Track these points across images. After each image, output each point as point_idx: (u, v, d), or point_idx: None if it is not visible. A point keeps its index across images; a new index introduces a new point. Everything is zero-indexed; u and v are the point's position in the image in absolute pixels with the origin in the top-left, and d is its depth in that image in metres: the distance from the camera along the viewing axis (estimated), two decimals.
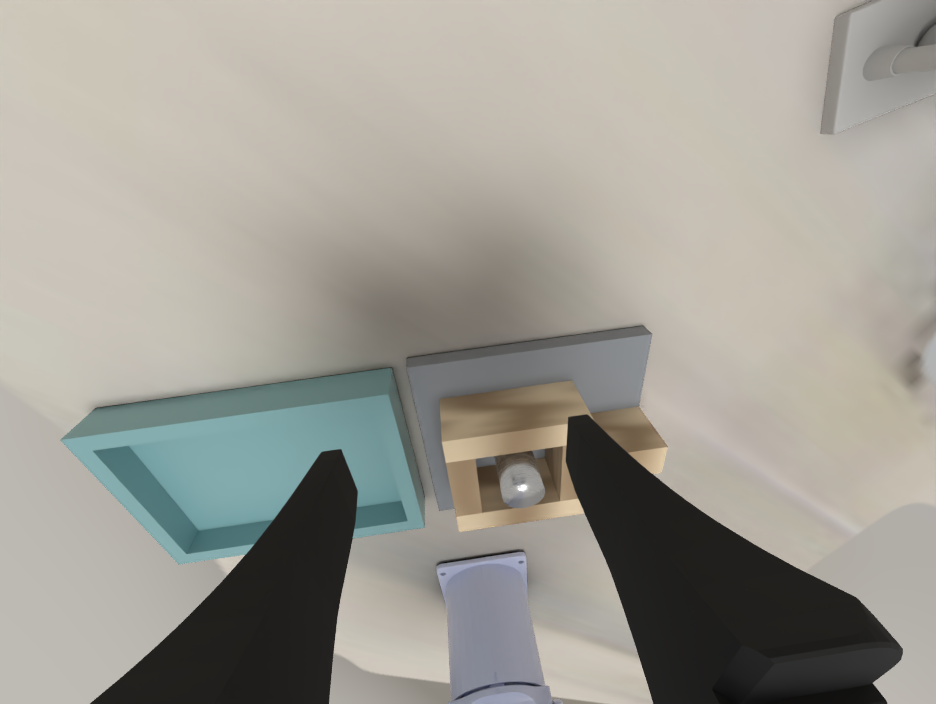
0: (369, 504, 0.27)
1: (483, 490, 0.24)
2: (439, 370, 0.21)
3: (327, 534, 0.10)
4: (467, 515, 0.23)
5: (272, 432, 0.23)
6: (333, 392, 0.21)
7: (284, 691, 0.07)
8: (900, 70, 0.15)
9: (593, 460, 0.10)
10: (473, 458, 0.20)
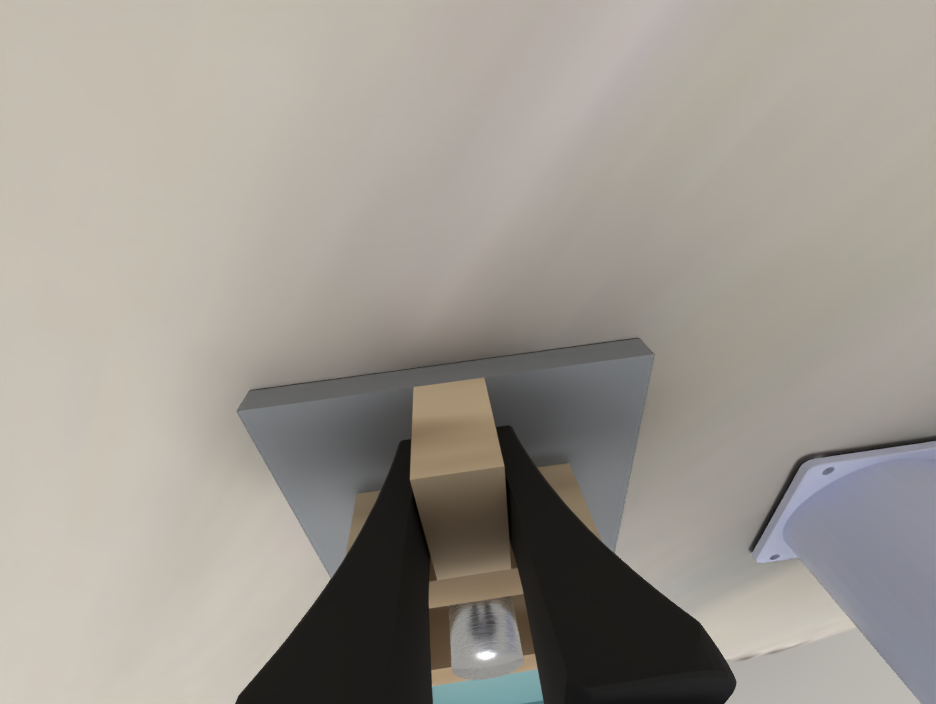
0: None
1: None
2: None
3: (420, 520, 0.10)
4: None
5: None
6: None
7: (413, 670, 0.07)
8: None
9: None
10: None
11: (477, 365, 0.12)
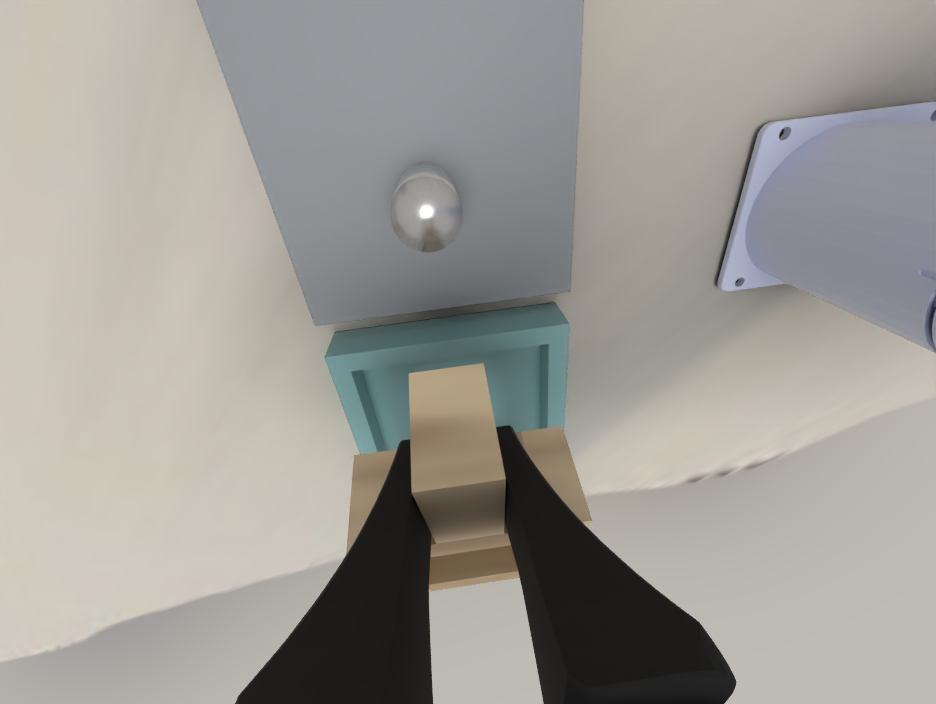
0: (537, 370, 0.22)
1: None
2: (313, 292, 0.18)
3: (420, 520, 0.10)
4: None
5: None
6: None
7: (413, 670, 0.07)
8: None
9: None
10: None
11: None
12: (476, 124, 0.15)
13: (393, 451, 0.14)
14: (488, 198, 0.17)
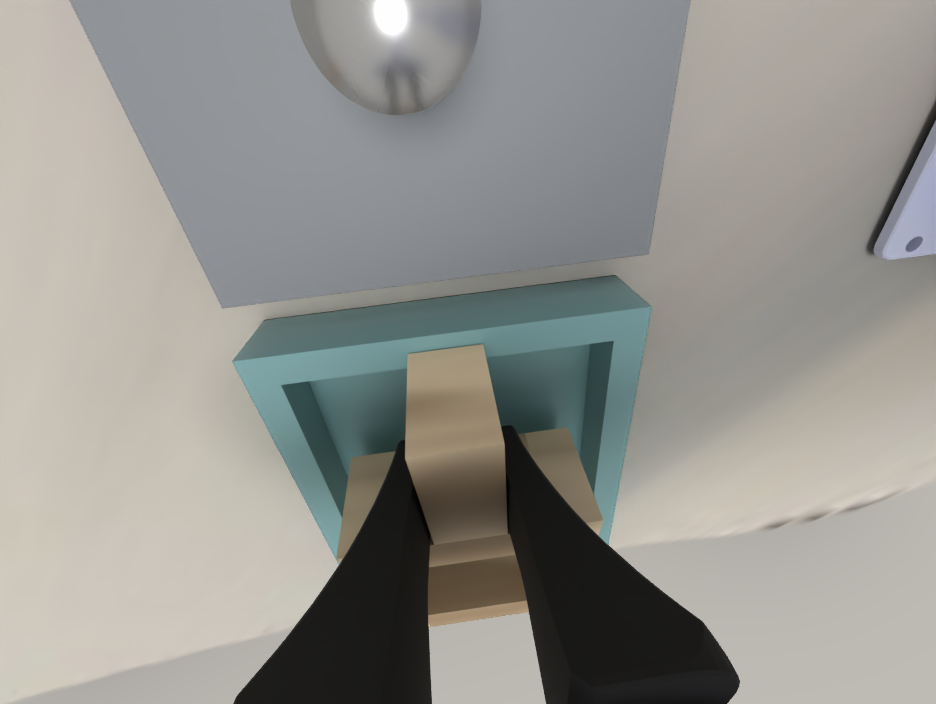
0: (583, 381, 0.14)
1: None
2: (210, 247, 0.10)
3: (419, 521, 0.10)
4: None
5: None
6: None
7: (412, 671, 0.07)
8: None
9: None
10: None
11: None
12: None
13: (392, 453, 0.14)
14: (521, 67, 0.09)
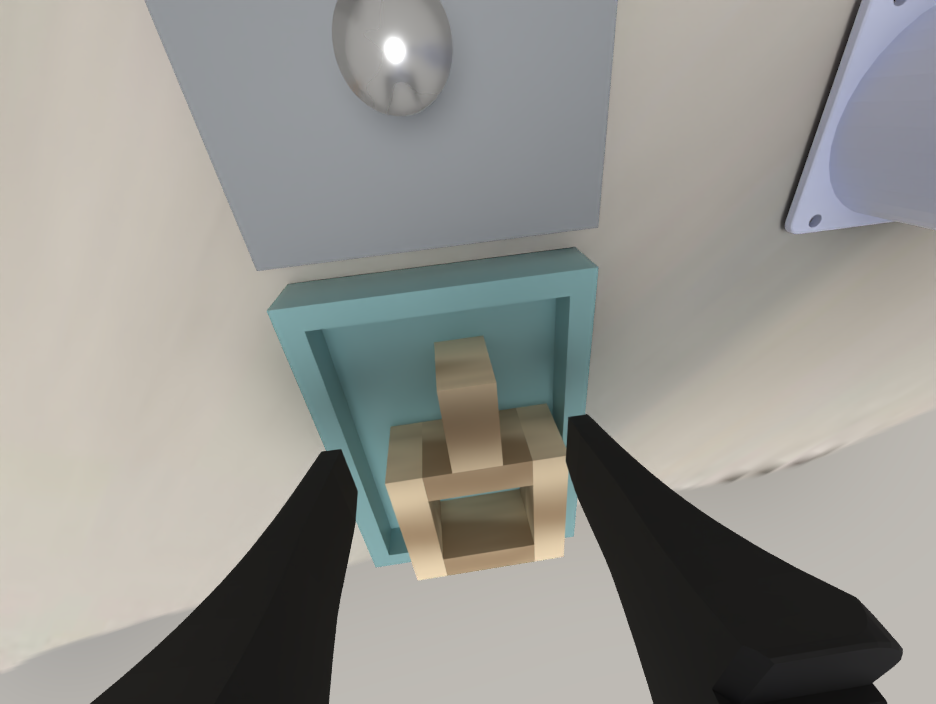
0: (552, 337, 0.17)
1: (527, 514, 0.21)
2: (250, 220, 0.13)
3: (327, 534, 0.10)
4: (535, 554, 0.20)
5: None
6: None
7: (284, 691, 0.07)
8: None
9: (593, 460, 0.10)
10: (442, 560, 0.20)
11: None
12: None
13: (420, 423, 0.19)
14: (490, 80, 0.12)
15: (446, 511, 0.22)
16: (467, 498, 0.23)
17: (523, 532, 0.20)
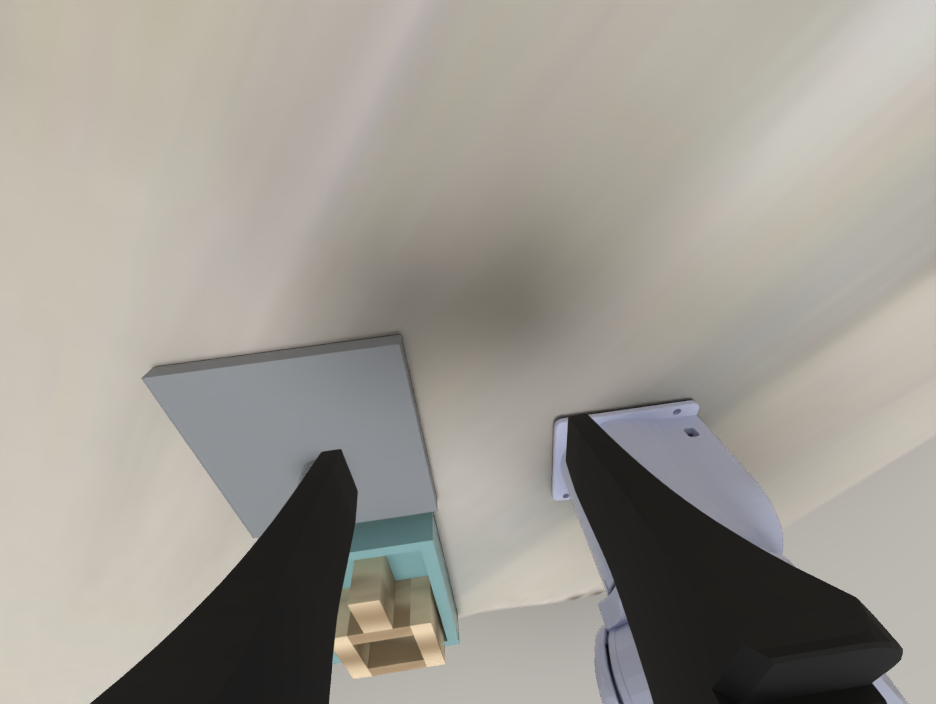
0: None
1: None
2: (249, 522, 0.26)
3: (327, 534, 0.10)
4: (426, 663, 0.33)
5: None
6: None
7: (284, 691, 0.07)
8: None
9: (593, 460, 0.10)
10: (367, 669, 0.32)
11: (295, 351, 0.20)
12: (350, 441, 0.23)
13: None
14: (366, 472, 0.24)
15: None
16: None
17: (419, 649, 0.33)
